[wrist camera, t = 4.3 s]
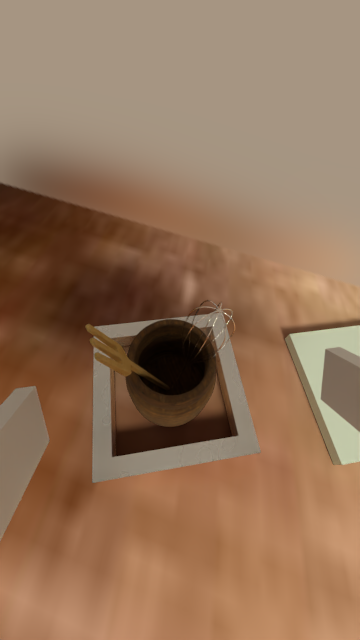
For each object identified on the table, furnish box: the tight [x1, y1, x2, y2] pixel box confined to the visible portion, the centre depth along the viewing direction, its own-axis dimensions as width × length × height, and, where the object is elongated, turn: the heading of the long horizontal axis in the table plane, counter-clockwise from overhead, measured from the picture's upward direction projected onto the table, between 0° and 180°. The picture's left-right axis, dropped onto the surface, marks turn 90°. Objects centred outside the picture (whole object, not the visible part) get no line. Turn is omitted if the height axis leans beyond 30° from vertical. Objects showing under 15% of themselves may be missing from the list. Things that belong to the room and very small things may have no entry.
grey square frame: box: [92, 313, 261, 483], centre depth 19 cm, size 11×11×2 cm
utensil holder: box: [85, 300, 235, 427], centre depth 15 cm, size 6×6×12 cm
